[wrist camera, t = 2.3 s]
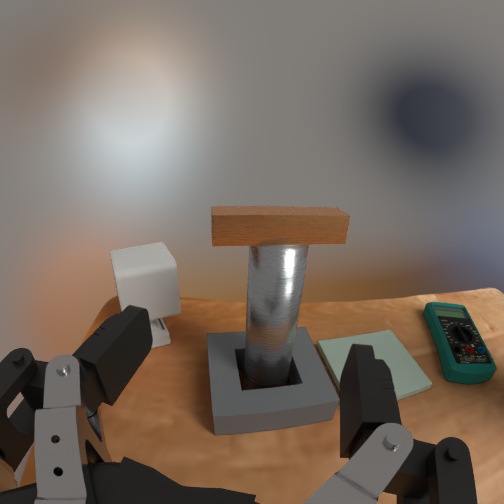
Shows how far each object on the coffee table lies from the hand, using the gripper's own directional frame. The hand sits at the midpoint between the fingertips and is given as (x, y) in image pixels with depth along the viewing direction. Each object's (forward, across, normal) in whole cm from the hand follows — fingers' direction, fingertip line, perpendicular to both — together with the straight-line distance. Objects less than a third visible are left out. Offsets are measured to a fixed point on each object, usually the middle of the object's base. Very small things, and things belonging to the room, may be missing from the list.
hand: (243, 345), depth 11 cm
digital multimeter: (+20, -25, +15) cm, 35 cm away
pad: (+15, -12, +14) cm, 23 cm away
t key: (+10, 0, +14) cm, 18 cm away
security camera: (+15, +14, +15) cm, 25 cm away
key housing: (+10, 0, +14) cm, 18 cm away
